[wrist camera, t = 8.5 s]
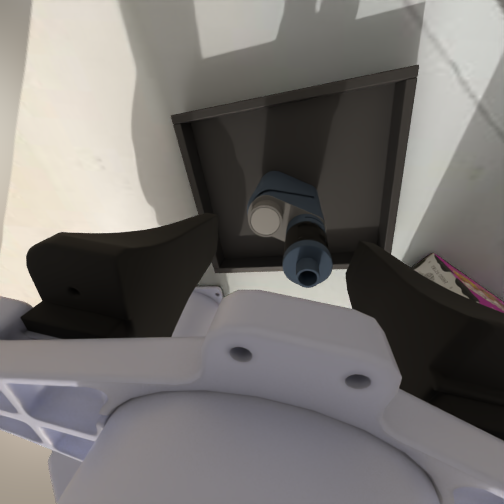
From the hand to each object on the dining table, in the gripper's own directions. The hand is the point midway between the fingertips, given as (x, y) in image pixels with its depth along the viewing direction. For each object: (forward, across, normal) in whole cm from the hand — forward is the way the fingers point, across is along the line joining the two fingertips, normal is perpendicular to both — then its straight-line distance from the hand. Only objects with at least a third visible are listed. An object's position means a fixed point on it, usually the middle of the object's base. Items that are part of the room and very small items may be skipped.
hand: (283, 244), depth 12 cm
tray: (+10, 0, 0) cm, 10 cm away
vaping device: (+10, 0, 0) cm, 10 cm away
